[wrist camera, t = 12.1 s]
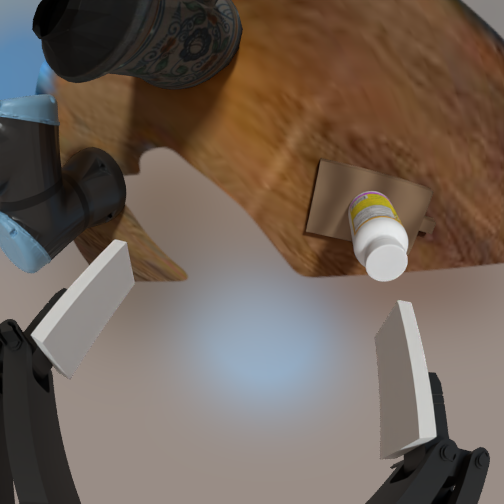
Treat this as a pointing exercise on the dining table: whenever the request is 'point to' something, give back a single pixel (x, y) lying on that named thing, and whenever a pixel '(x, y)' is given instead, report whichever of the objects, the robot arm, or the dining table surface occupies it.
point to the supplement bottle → (378, 236)
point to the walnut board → (354, 183)
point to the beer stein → (139, 39)
